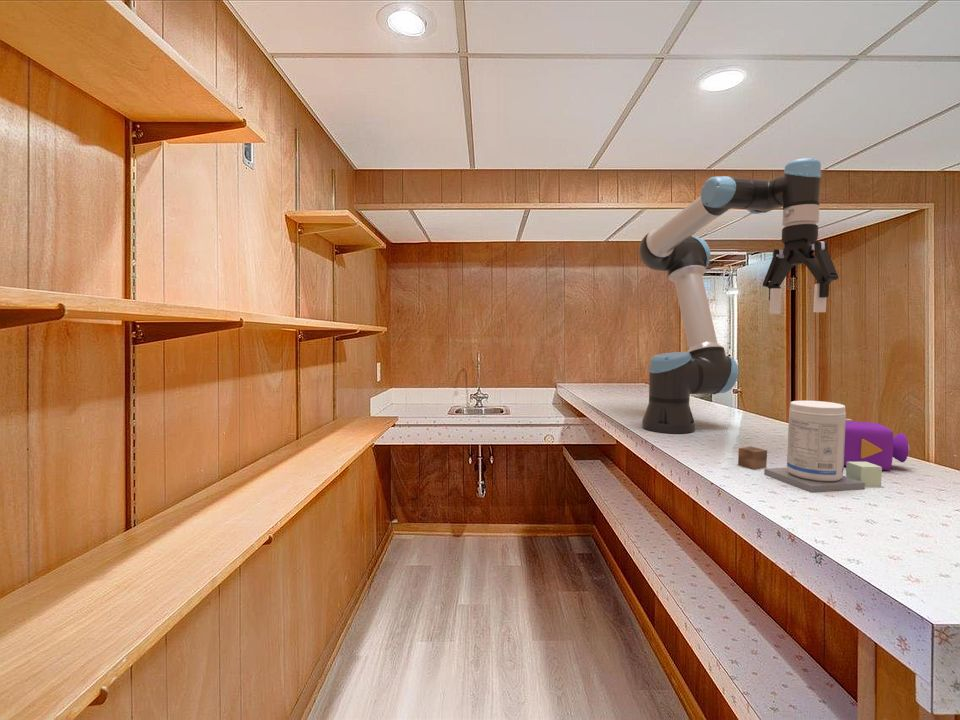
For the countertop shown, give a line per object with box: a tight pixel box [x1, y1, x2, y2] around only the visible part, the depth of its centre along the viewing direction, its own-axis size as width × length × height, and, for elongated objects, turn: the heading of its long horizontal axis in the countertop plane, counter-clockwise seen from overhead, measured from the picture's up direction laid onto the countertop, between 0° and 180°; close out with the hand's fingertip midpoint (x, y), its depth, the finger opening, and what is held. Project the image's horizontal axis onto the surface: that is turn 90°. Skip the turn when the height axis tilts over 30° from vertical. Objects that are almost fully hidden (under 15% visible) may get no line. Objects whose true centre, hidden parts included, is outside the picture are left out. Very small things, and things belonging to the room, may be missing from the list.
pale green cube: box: [845, 462, 883, 488], centre depth 101 cm, size 4×4×4 cm
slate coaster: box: [763, 466, 866, 493], centre depth 102 cm, size 12×12×1 cm
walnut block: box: [737, 445, 768, 471], centre depth 113 cm, size 4×4×4 cm
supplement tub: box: [786, 400, 847, 481], centre depth 101 cm, size 10×10×15 cm
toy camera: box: [844, 418, 910, 471], centre depth 114 cm, size 11×14×10 cm
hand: (796, 313), depth 125 cm, fingers open, 13 cm apart
